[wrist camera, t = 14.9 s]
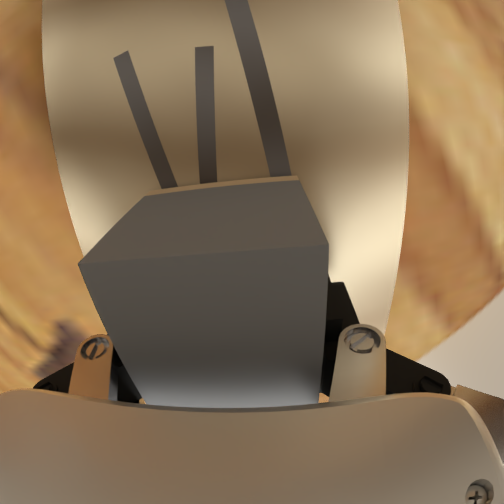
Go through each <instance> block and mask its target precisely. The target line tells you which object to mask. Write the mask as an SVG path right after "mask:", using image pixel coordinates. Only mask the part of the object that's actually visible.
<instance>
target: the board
mask: <svg viewBox="0 0 504 504" xmlns="http://www.w3.org/2000/svg"><path fill="white" fill-rule="evenodd" d="M42 54H43V70H44V82H45V92H46V100H47V108H48V115H49V122H50V128H51V134H52V140H53V145H54V150H55V155H56V160H57V164H58V169H59V173H60V178H61V182H62V186H63V190H64V194H65V197H66V201H67V205H68V208H69V212H70V215H71V219H72V222H73V225H74V229H75V232H76V235H77V238H78V241H79V244H80V247H81V250H82V253H83V256H85V255H86V254H87V253H88V252H89V251H90V250H91V249H92V248H93V247H94V246H95V245H96V244H97V243H98V241H99V240H100V239H101V238H102V237H103V236H104V235H105V234H106V233H107V232H108V231H109V230H110V229H111V228H112V227H113V226H114V225H115V224H116V223H117V222H118V221H119V220H120V219H121V218H122V217H123V216H124V215H125V214H126V213H127V212H128V211H129V210H130V209H131V208H132V207H133V206H134V205H135V204H136V203H138V202H139V201H140V200H141V199H142V198H143V197H144V196H145V195H146V194H147V193H148V192H149V191H152V190H159V189H166V188H173V187H181V186H189V185H197V184H205V183H214V182H224V181H233V180H244V179H255V178H267V177H280V176H295V175H297V176H298V179H299V181H300V183H301V185H302V187H303V189H304V191H305V193H306V195H307V197H308V199H309V201H310V204H311V206H312V208H313V210H314V212H315V214H316V217H317V219H318V221H319V223H320V225H321V228H322V230H323V232H324V234H325V236H326V239H327V241H328V243H329V264H328V274H329V277H330V280H331V282H344V284H345V286H346V289H347V291H348V294H349V296H350V299H351V302H352V304H353V307H354V309H355V312H356V315H357V317H358V320H359V323H360V324H367V325H371V326H373V327H376V328H377V329H379V330H380V331H381V332H382V333H383V335H384V334H385V330H386V326H387V322H388V317H389V312H390V308H391V303H392V298H393V293H394V287H395V282H396V276H397V270H398V264H399V257H400V251H401V243H402V236H403V227H404V218H405V208H406V196H407V182H408V162H409V99H408V80H407V66H406V55H405V46H404V38H403V30H402V23H401V17H400V11H399V5H398V0H43V1H42Z"/></svg>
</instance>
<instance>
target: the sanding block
mask: <svg viewBox="0 0 504 504" xmlns="http://www.w3.org/2000/svg"><path fill="white" fill-rule="evenodd" d="M328 264H329V243H328V241H327V239H326V236H325V234H324V232H323V230H322V228H321V225H320V223H319V221H318V219H317V217H316V214H315V212H314V210H313V208H312V206H311V204H310V201H309V199H308V197H307V195H306V193H305V191H304V189H303V187H302V185H301V183H300V181H299V179H298V176H297V175H295V176H280V177H267V178H255V179H244V180H233V181H224V182H214V183H205V184H197V185H189V186H181V187H173V188H166V189H159V190H152V191H149V192H148V193H147V194H146V195H145V196H144V197H143V198H142V199H141V200H140V201H139V202H138V203H136V204H135V205H134V206H133V207H132V208H131V209H130V210H129V211H128V212H127V213H126V214H125V215H124V216H123V217H122V218H121V219H120V220H119V221H118V222H117V223H116V224H115V225H114V226H113V227H112V228H111V229H110V230H109V231H108V232H107V233H106V234H105V235H104V236H103V237H102V238H101V239H100V240H99V241H98V243H97V244H96V245H95V246H94V247H93V248H92V249H91V250H90V251H89V252H88V253H87V254H86V255H85V256H84V258H83V259H82V260H81V261H80V262H79V263H78V266H79V268H80V271H81V274H82V276H83V279H84V281H85V284H86V286H87V289H88V291H89V293H90V296H91V298H92V300H93V303H94V305H95V307H96V310H97V312H98V314H99V316H100V318H101V321H102V323H103V325H104V327H105V329H106V331H107V333H108V335H109V337H110V339H111V341H112V343H113V345H114V347H115V349H116V351H117V353H118V355H119V357H120V359H121V361H122V363H123V364H124V366H125V368H126V370H127V372H128V374H129V375H130V377H131V379H132V381H133V382H134V384H135V386H136V388H137V389H138V391H139V393H140V394H141V396H142V398H143V399H144V401H145V403H146V404H148V405H160V406H175V407H196V408H257V407H279V406H294V405H306V404H316V403H318V400H319V392H320V382H321V373H322V362H323V351H324V339H325V325H326V309H327V290H328Z"/></svg>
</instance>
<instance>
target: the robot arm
mask: <svg viewBox="0 0 504 504" xmlns="http://www.w3.org/2000/svg"><path fill="white" fill-rule="evenodd" d="M319 393H323V394H325V395H327V396H328V397H329V402H326V403H316V404H306V405H294V406H279V407H257V408H196V407H175V406H160V405H148V404H145V403H144V399H143V398H142V396H141V394H140V393H139V391H138V389H137V388H136V386H135V384H134V382H133V381H132V379H131V377H130V375H129V374H128V372H127V370H126V368H125V366H124V364H123V363H122V361H121V359H120V357H119V355H118V353H117V351H116V349H115V347H114V345H113V343H112V341H111V339H110V337H109V335H108V334H107V335H104V334H97V335H93V336H91V337H89V338H87V339H85V340H84V341H83V342H82V343H81V344H80V345H79V347H78V349H77V353H76V357H75V361H74V363H72V364H70V365H68V366H66V367H65V368H63V369H61V370H59V371H57V372H55V373H53V374H52V375H50V376H48V377H46V378H44V379H42V380H41V381H39V382H38V383H37V384H36V385H35V386H34V387H33V389H16V390H10V391H7V392H4V393H1V394H0V504H504V466H503V464H504V399H501V398H499V397H495V396H492V395H489V394H486V393H482V392H479V391H476V390H473V389H470V388H467V387H463V386H461V385H457V387H456V388H455V387H452V386H451V385H450V383H449V381H448V379H447V378H446V377H445V376H444V375H442V374H441V373H439V372H437V371H435V370H432V369H430V368H428V367H426V366H424V365H421V364H419V363H417V362H415V361H413V360H410V359H408V358H406V357H404V356H402V355H399V354H397V353H395V352H393V351H391V350H388V349H386V340H385V336H384V335H383V333H382V332H381V331H380V330H379V329H377V328H376V327H373V326H371V325H367V324H360V323H359V320H358V317H357V315H356V312H355V309H354V307H353V304H352V302H351V299H350V296H349V294H348V291H347V289H346V286H345V284H344V282H331V280H330V277H329V274H328V290H327V309H326V325H325V339H324V351H323V362H322V373H321V382H320V392H319Z"/></svg>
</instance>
